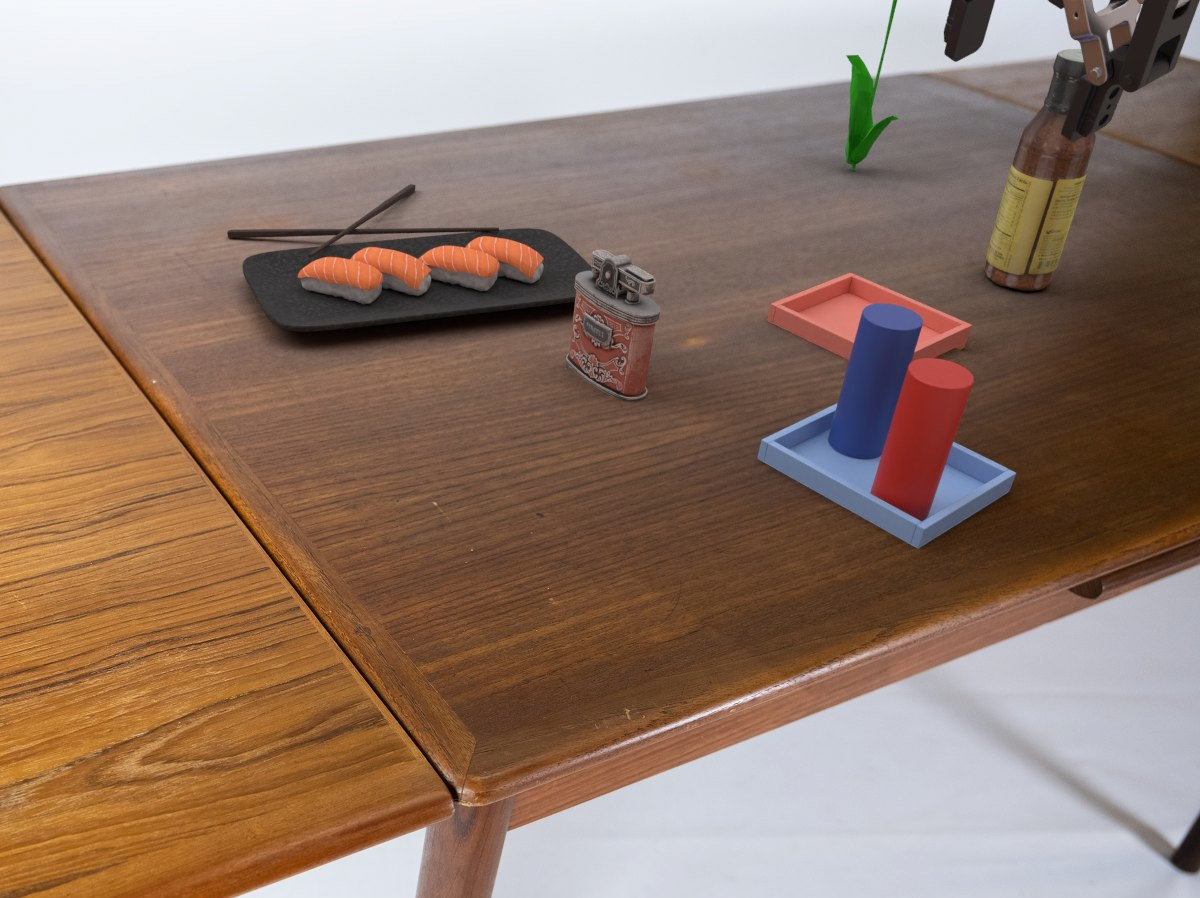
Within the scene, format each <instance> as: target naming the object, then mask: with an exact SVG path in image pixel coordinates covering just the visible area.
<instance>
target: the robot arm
mask: <svg viewBox="0 0 1200 898" xmlns="http://www.w3.org/2000/svg"><path fill="white" fill-rule="evenodd" d="M950 1H951V2H950V5H949V9H948V13H947V16H946V22H945V25H944V28H943V42H944V43H945V47H944V51H943V53H944V56H945V57H947V58H948V59H950V60H951V61H953V62H955V63H956V62H959V61H961V60H963V59H965V58H967V57H969V56H971V55H973V54H974V53H976V52H977V51H979V50H980V48H981V47H982V46H983V44H984V41H985V37H986V35H987V31H988V27H989V23H990V20H991V17H992V13H993V11H994V10H993V9H994V6H995V2H996V0H950ZM1047 2H1049V3H1051V4H1052V5H1053V6H1055V7H1056V8H1058V9H1060V10H1063V9H1064V13H1065V17H1066V22H1067V23H1066V24H1067V28H1068V33H1069V36H1070V38H1071V39H1072V40H1074V41H1077V42H1079V46H1080V49H1081V51H1082V55H1083V60H1084V65H1085V70H1086V75H1084V76H1082V77H1081V79H1080V81H1079V84H1078V87H1077V89H1076V92H1075V95H1074V98H1073V100H1072V103H1071V106H1070V109H1069V111H1068V114H1067V117H1066V119H1065V122H1064V125H1063V128H1062V130H1061V135H1062V136H1064V137H1065V138H1066V139H1068V140H1069V141H1071V142H1075V141H1077V140H1079V139H1081V138H1082V137H1087V136H1089V135H1091V134H1092V133H1094V132H1095V133H1096V132H1098V131H1099V130H1101V129H1103V128H1105V127H1106V126H1107V125H1108V124H1110V123H1111V122H1112V120H1113V117H1114V114H1115V112H1116V111H1117V107H1118V104H1119V103H1120V100H1121V98H1122V95H1123V93H1124V91H1125V92H1126V93H1135V92H1137V91H1139V90H1140V89H1142V88H1144V87H1146V86H1148V85H1149V84H1151V83H1153V82H1154V81H1156V80H1158V79H1160V78H1162V77H1164V76H1165V75H1168V74H1169V73H1171V72H1173V71H1174V70H1175V68H1176V66H1177V64H1178V61H1179V58H1180V56H1181V53H1182V50H1183V47H1184V45H1185V42H1186V39H1187V37H1188V33H1189V31H1190V28H1191V26H1192V23H1193V20H1194V18H1195V14H1196V12H1197V9H1198V7H1199V4H1200V0H1109V2H1108V4H1107V5H1106V6H1105V7H1104V8H1102V9H1100V10H1098V11H1095V8H1094V3H1093V2H1094V1H1093V0H1047ZM1137 17H1138V18H1137ZM1108 33H1109V35H1110V40H1111V45H1112V50H1110V45H1109V40H1108Z"/></svg>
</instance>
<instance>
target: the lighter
mask: <svg viewBox="0 0 1200 898" xmlns="http://www.w3.org/2000/svg"><path fill="white" fill-rule="evenodd" d="M590 265H591V266H592V271H584V272H580V273H578V274H577V275H576V277H575V285H574V287H575V289H576V299H575V302H574V309H573V310H574V311H573V316H572V326H571V334H570V343H569V351H568V353H567V354H566V357H565V363H564V369H565V370H566V371H569V370H572V371H573V372H574V373H575V374H576V375H578V376H579V377H580V378H582V379H583V380H584V381H585V382H587V383H588V384H590V385H591V386H593V387H594V388H597V390H600V391H601V392H604V394H605V393H606V394H607V395H609V396H611V397H613V398H615V399H617V400H618V401H619V400H620V401H621V402H627V403H635V402H636V403H637V402H640V401H643V400H645V399H646V397H647V396H648V395H647V394H648V389H647V387H646V386H647V385H646V384H647V379H648V373H649V368H650V367H649V366H650V360H651V355H652V349H653V348H652V347H653V341H654V336H655V335H654V334H655V329H656V323H658V322H659V320H660V316H661V315H660V314H661V306H659V304H657V302H656V301H654V300H653V299H651V298H650V297H649V296H652V295H654V293H655V287H656V279H655V278H654V276H653V275H652V274H650V273H648V272H647V271H645V270H644V269H641V268H640V267H639V266H636V265H634V264H633V262H632V259H631V258H630V256H629V255H627V254H619V255H614V254H612V253H611V252H609V251H608V250H605V249H596V250H593V251H592V255H591V262H590Z"/></svg>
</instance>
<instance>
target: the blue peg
mask: <svg viewBox="0 0 1200 898" xmlns="http://www.w3.org/2000/svg"><path fill="white" fill-rule="evenodd" d="M922 325H923V320H922V318H921V316H920V315H918V314H917V313H916V312H914V311H912V310H910V309H908V308H905V307H902V306H898V305H894V304H885V303H879V304H872V305H868V306H866V307H865V308H864V309H863V311H862V314H861V318H860V322H859V325H858V329H857V333H856V336H855V340H854V344H853V348H852V351H851V355H850V359H849V360H848V362H847V367H846V371H845V375H844V377H843V381H842V386H841V389H840V393H839V397H838V400H837V402H836V404H837V407H836V411H835V415H834V418H833V422H832V426H831V429H830V433H829V437H828V441H829V444H830V446H831V447H832V448H833V449H834V450H836V451H837V452H839V453H841V454H843V455H846V456H849V457H852V458H857V459H873V458H877V457H879V456H881V455H882V452H883V449H884V445H885V442H886V439H887V435H888V432H889V429H890V425H891V422H892V419H893V416H894V412H895V409H896V406H897V402H898V399H899V396H900V392H901V389H902V386H903V382H904V379H905V376H906V372H907V369H908V366H909V364H910V363H911V361H912V358H913V355H914V352H915V348H916V345H917V342H918V338H919V335H920V332H921V328H922Z"/></svg>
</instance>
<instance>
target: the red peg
mask: <svg viewBox="0 0 1200 898" xmlns="http://www.w3.org/2000/svg"><path fill="white" fill-rule="evenodd" d="M974 382H975V378H974V375H973V373H972V372H971V371H969V370H968V369H967V368H966V367H964V366H963V365H960V364H958V363H956V362H953V361H950V360H947V359H942V358H937V357H935V358H922V359H917V360H914V361H913V362H911V363H910V364H909V366H908V369H907V372H906V376H905V379H904V382H903V386H902V389H901V392H900V396H899V399H898V402H897V406H896V409H895V412H894V416H893V419H892V422H891V425H890V429H889V432H888V435H887V439H886V442H885V445H884V449H883V452H882V455H881V459H880V462H879V465H878V469H877V472H876V475H875V478H874V482H873V485H872V488H871V492H870V494H872V495H874V496H876V497H877V498H879V499H881V500H883V501H885V502H887V503H888V504H890V505H892V506H894V507H896V508H898V509H899V510H901V511H903V512H905V513H907V514H909V515H910V516H912V517H914V518H916V519H918V520H920V521H922V520H924V519H925V518H926V517H927V516H928V515H929V512H930V509H931V506H932V504H933V501H934V498H935V495H936V492H937V489H938V486H939V483H940V480H941V477H942V474H943V471H944V468H945V465H946V462H947V459H948V456H949V453H950V451H951V448H952V445H953V442H955V438H956V435H957V433H958V430H959V427H960V424H961V421H962V418H963V416H964V412H965V409H966V407H967V403H968V401H969V398H970V395H971V391H972V388H973V386H974Z"/></svg>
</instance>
